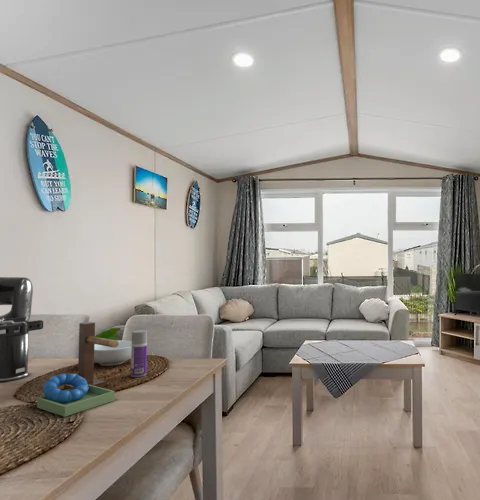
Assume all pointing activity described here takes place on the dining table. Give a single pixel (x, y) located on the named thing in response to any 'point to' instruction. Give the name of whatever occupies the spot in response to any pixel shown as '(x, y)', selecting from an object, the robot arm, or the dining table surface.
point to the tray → (77, 401)
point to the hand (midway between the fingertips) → (33, 322)
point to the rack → (89, 353)
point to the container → (139, 353)
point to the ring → (62, 395)
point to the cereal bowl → (112, 353)
